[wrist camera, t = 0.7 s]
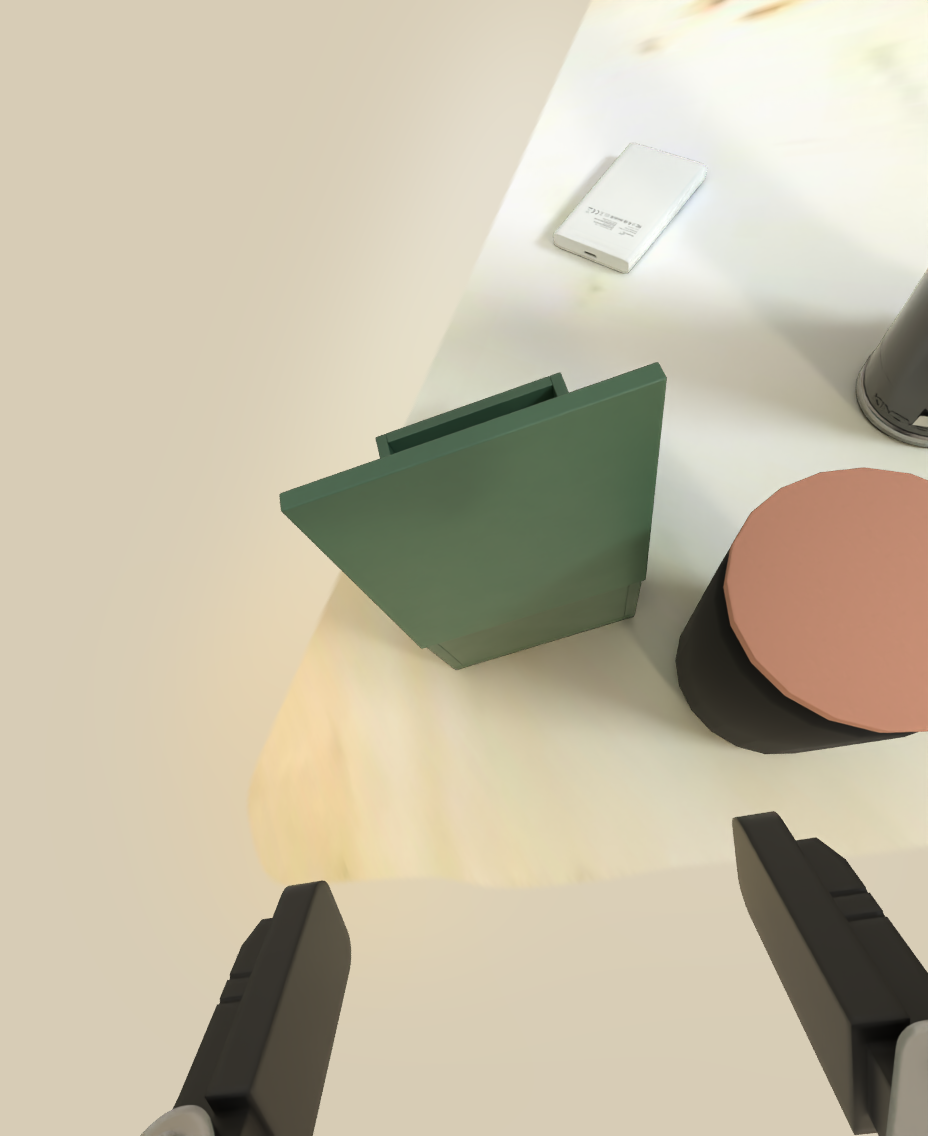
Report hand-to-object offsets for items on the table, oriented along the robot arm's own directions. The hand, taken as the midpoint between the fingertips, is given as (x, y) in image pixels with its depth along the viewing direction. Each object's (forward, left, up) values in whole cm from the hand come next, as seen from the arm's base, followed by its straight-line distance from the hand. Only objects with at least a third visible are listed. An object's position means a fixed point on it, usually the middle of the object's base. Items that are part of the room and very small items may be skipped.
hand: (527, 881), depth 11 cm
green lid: (-6, -11, -12) cm, 17 cm away
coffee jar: (-15, +1, -29) cm, 33 cm away
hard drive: (-39, -35, -29) cm, 60 cm away
